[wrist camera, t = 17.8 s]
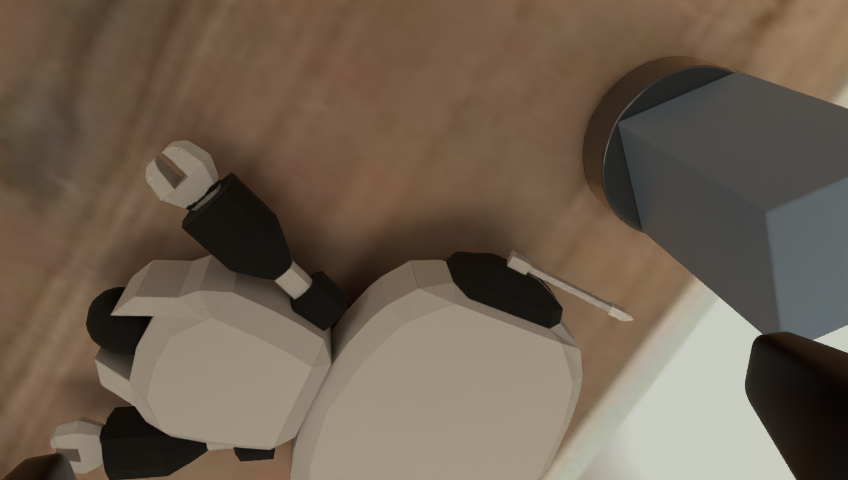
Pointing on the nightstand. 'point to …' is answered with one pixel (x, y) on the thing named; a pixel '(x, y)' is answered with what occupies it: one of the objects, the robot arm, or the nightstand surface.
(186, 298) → the robot toy
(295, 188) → the nightstand surface
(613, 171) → the disc
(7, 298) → the nightstand surface
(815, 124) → the top block
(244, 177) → the nightstand surface
